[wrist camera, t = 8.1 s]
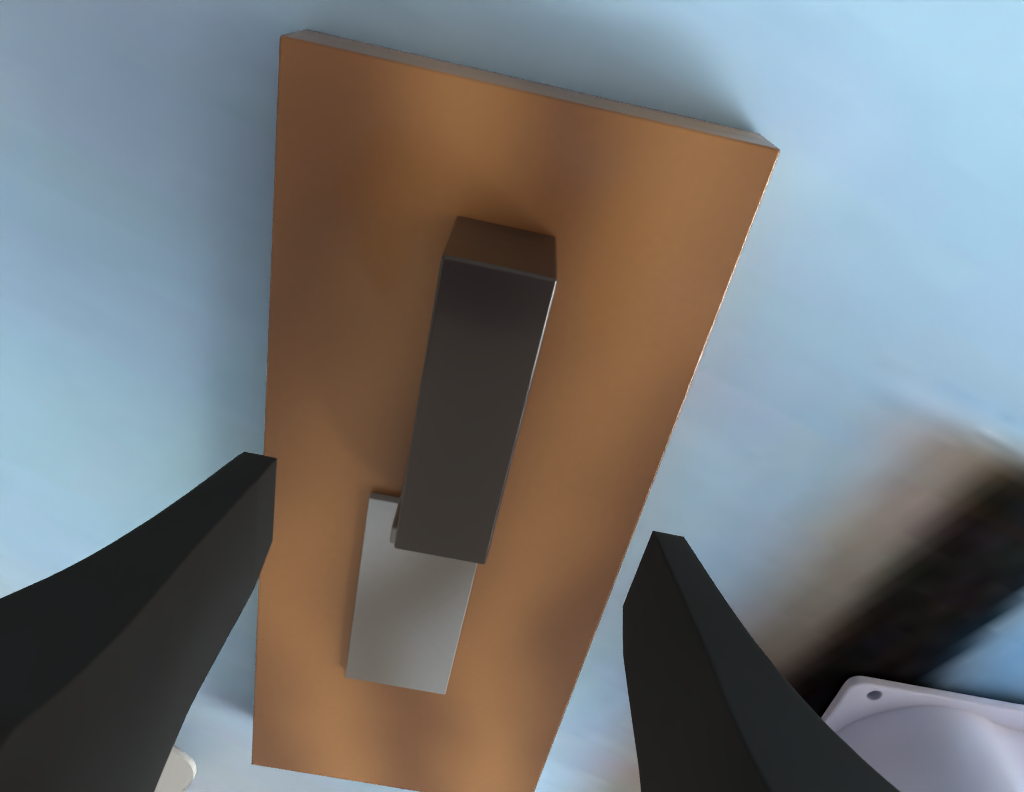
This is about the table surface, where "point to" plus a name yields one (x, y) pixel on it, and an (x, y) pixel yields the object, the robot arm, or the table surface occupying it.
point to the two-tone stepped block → (453, 455)
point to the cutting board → (398, 371)
